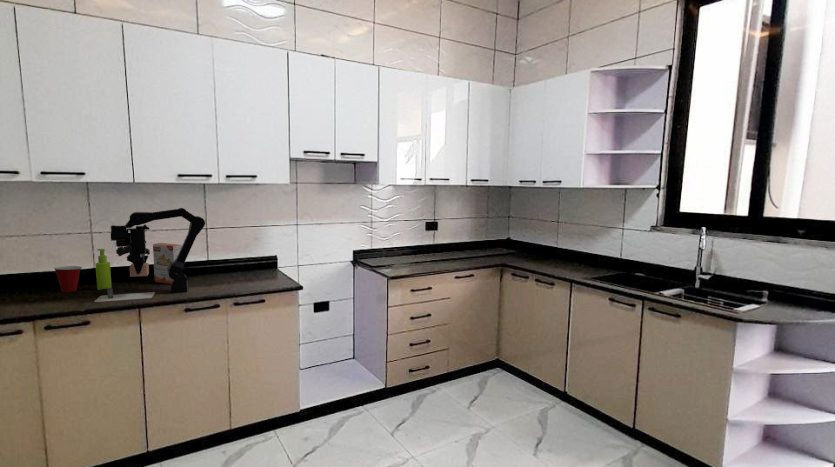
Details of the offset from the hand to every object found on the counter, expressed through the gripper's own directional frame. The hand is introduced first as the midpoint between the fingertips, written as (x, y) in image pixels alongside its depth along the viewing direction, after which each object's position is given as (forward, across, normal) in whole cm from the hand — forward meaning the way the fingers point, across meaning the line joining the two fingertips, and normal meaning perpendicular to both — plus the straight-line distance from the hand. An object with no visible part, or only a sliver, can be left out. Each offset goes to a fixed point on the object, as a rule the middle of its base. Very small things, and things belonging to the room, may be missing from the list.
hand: (139, 272), depth 205 cm
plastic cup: (+12, -25, -34) cm, 44 cm away
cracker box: (+12, -30, +8) cm, 33 cm away
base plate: (+12, 0, -6) cm, 13 cm away
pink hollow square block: (+1, 0, 0) cm, 1 cm away
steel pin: (+12, 0, -12) cm, 17 cm away
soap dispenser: (+12, -25, -20) cm, 34 cm away
